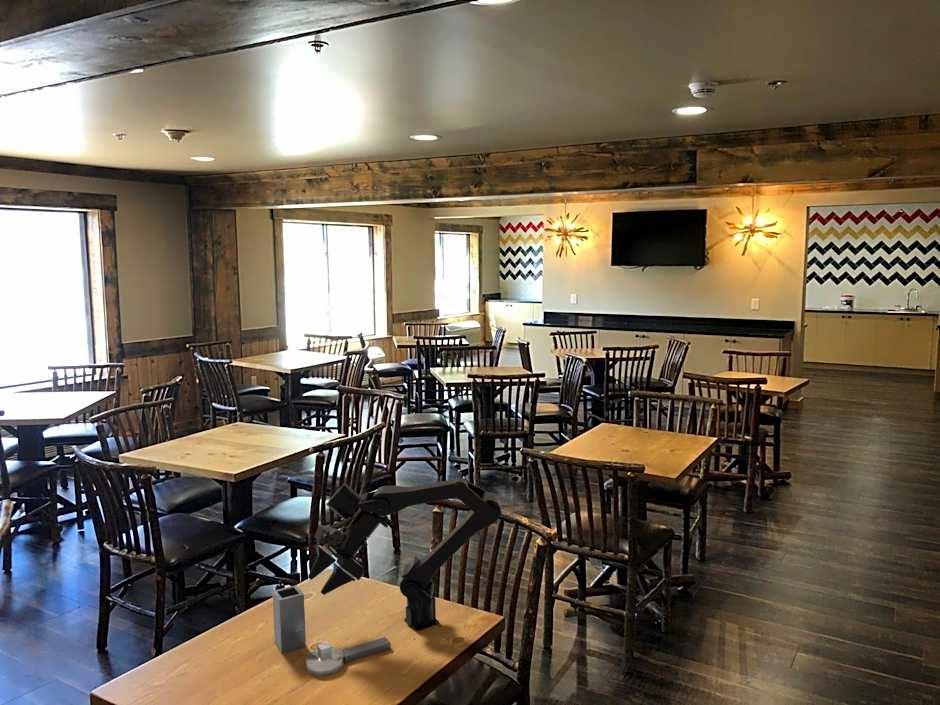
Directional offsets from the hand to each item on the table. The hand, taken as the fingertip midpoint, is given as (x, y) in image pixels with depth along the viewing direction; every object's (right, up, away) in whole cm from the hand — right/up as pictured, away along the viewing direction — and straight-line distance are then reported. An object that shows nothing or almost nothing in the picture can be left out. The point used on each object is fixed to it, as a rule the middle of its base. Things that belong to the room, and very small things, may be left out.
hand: (315, 585), depth 166 cm
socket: (-5, -13, -2) cm, 14 cm away
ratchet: (+9, -13, -8) cm, 18 cm away
